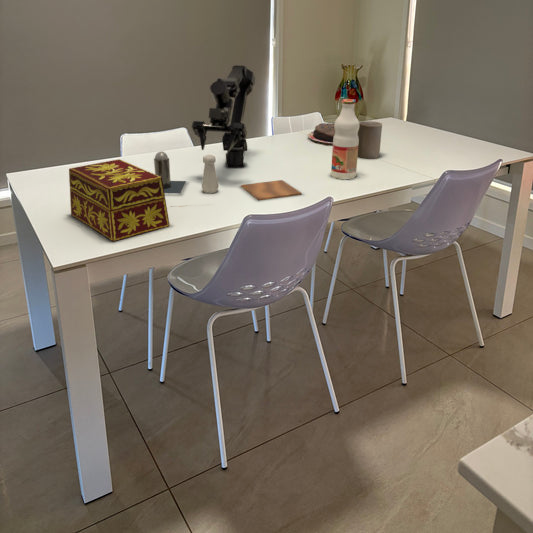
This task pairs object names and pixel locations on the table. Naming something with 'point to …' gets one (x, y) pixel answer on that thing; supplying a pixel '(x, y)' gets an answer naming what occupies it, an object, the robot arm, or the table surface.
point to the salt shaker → (209, 175)
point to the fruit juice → (345, 142)
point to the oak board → (270, 190)
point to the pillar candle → (369, 139)
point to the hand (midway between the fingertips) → (215, 150)
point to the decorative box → (118, 199)
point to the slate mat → (175, 187)
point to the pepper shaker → (163, 168)
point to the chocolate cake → (323, 133)
